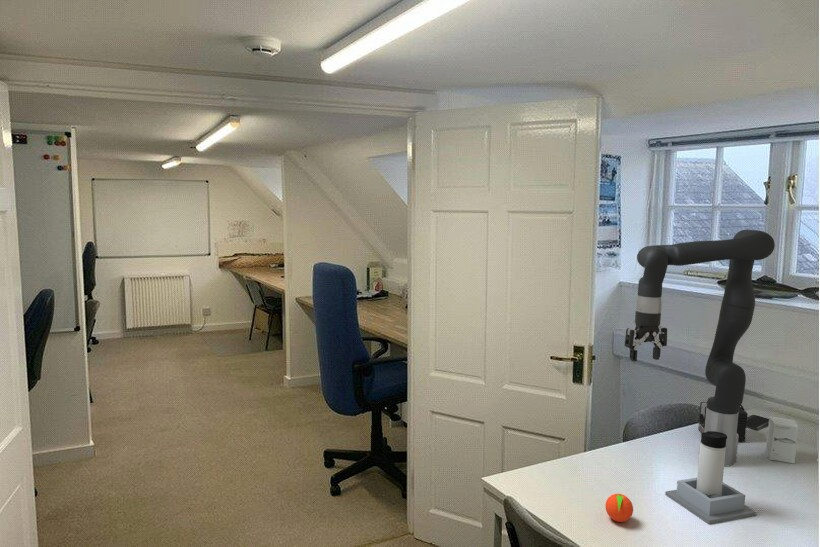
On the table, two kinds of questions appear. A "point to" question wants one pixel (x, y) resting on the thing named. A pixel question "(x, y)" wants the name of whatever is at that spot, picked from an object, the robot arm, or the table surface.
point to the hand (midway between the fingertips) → (644, 360)
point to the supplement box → (782, 439)
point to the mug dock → (710, 502)
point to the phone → (756, 422)
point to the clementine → (619, 507)
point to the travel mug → (711, 463)
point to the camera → (740, 426)
